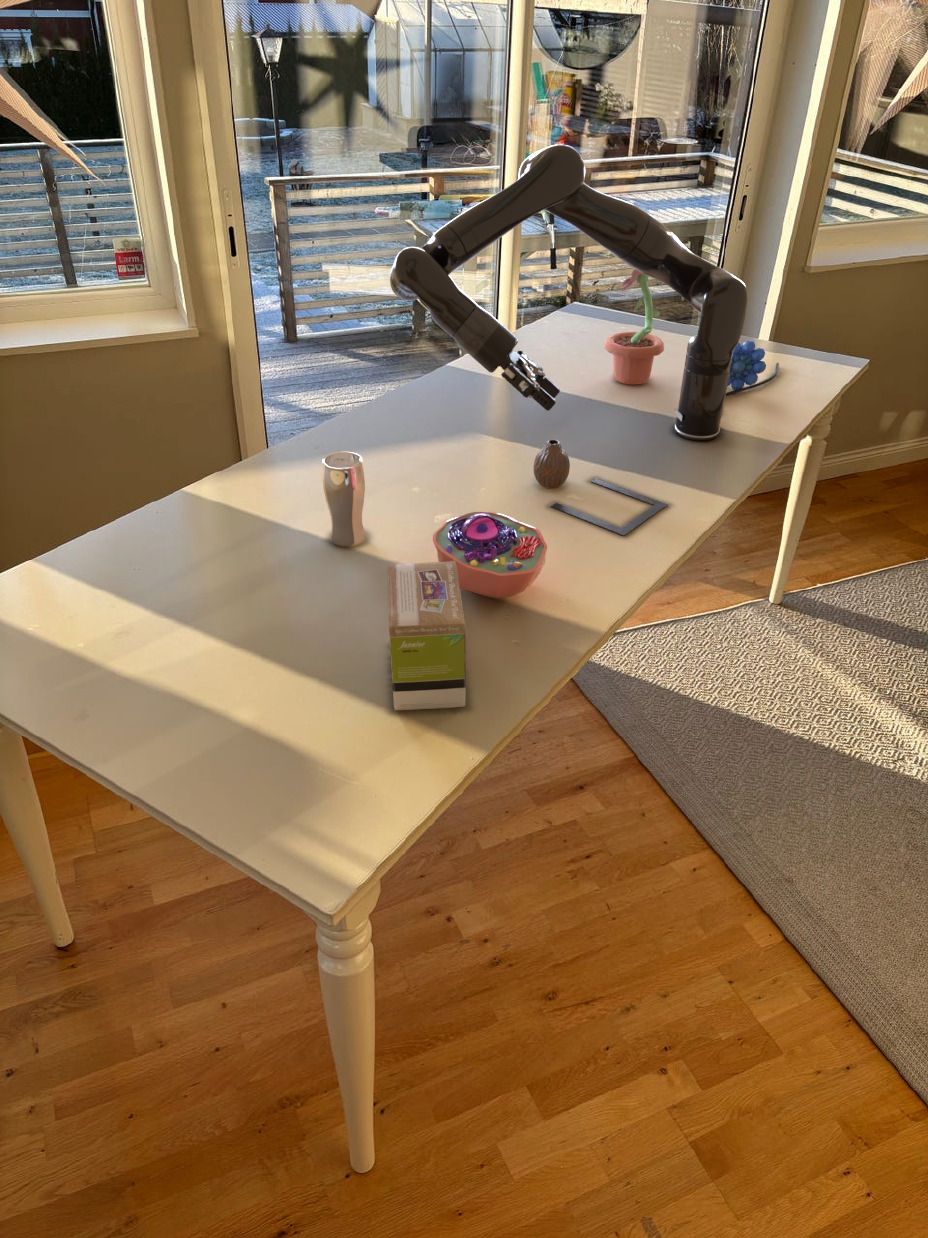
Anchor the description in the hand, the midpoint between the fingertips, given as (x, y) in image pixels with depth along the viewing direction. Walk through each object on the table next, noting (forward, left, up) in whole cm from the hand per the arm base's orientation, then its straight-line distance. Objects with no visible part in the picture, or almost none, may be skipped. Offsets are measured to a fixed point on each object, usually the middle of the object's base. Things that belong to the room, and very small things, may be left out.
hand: (554, 400), depth 164 cm
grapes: (-72, +2, -19) cm, 75 cm away
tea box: (+55, +19, -19) cm, 61 cm away
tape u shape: (-4, +11, -19) cm, 22 cm away
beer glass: (+36, -17, -19) cm, 44 cm away
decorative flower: (-61, -20, -19) cm, 67 cm away
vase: (-4, -3, -19) cm, 20 cm away
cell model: (+31, +11, -19) cm, 38 cm away
